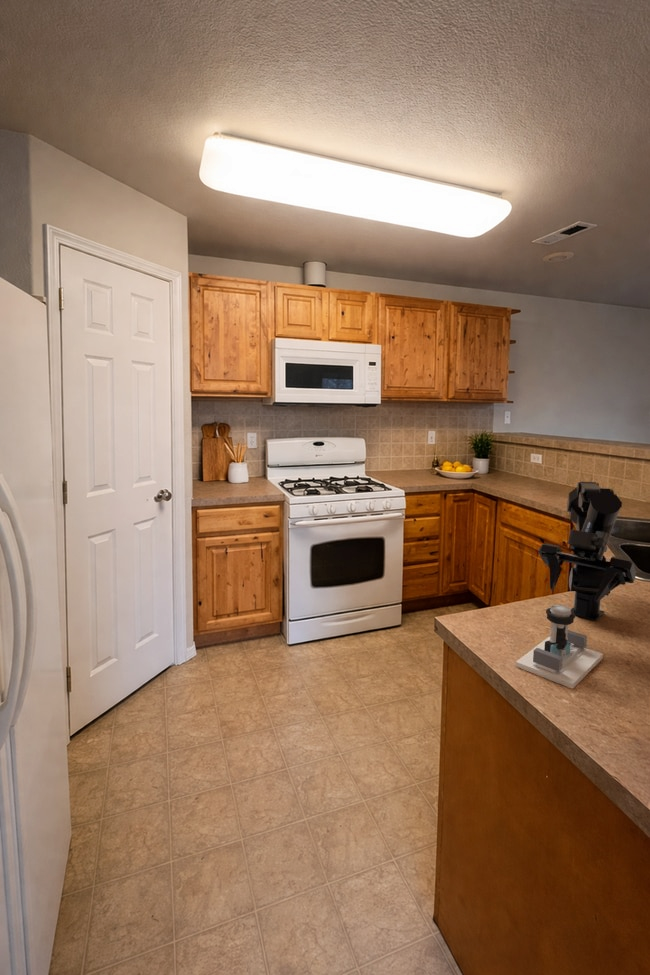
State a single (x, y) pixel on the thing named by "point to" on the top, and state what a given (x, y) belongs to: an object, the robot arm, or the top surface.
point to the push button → (559, 629)
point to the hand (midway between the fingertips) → (573, 595)
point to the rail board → (562, 661)
